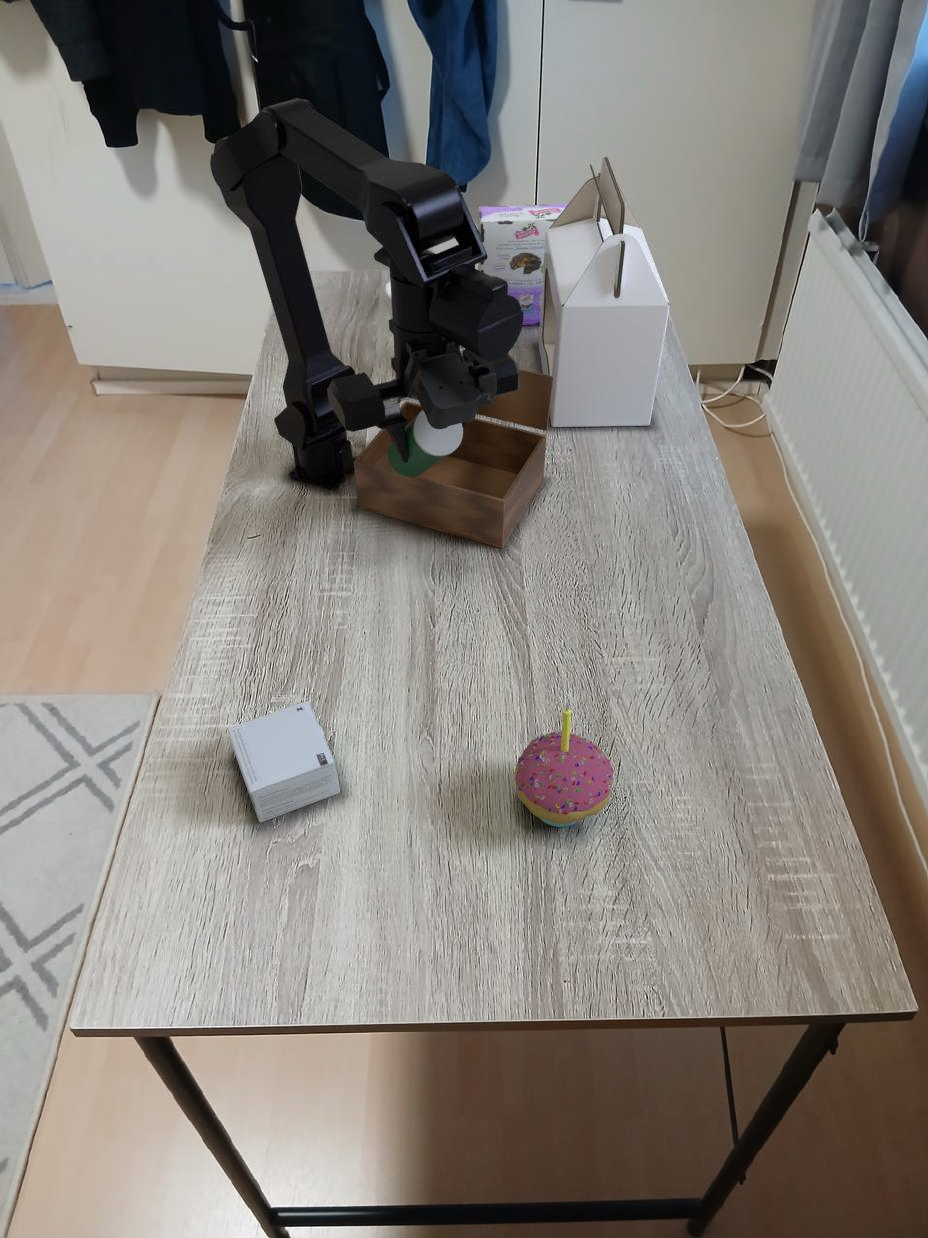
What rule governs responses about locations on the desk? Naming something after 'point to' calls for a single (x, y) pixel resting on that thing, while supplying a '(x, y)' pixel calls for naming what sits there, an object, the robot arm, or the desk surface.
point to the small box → (284, 760)
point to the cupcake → (563, 776)
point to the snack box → (458, 481)
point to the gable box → (601, 311)
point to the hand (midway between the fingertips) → (427, 454)
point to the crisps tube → (424, 446)
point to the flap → (523, 402)
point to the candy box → (518, 250)
